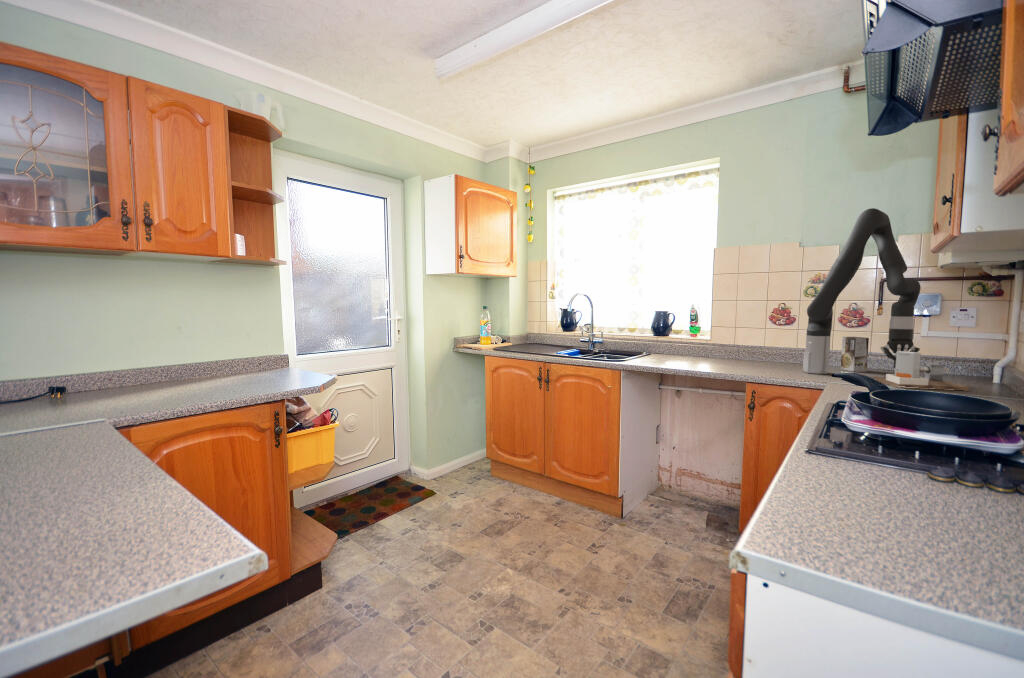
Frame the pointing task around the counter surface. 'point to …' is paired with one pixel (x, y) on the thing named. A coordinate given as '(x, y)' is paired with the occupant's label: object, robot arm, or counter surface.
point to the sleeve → (907, 380)
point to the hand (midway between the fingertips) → (898, 370)
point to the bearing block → (934, 372)
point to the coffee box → (854, 354)
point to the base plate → (930, 385)
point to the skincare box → (907, 364)
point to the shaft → (926, 369)
